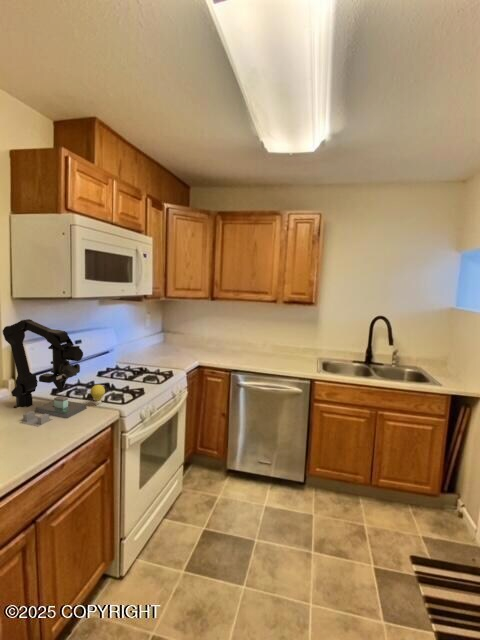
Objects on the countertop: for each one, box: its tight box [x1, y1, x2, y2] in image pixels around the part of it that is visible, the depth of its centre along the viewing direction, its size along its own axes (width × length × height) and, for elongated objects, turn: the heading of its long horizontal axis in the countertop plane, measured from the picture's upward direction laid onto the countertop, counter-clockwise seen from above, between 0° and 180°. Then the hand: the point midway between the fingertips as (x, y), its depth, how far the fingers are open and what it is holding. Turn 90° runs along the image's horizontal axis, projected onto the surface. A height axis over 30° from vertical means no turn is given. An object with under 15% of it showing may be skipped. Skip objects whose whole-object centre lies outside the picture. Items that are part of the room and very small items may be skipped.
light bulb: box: [90, 384, 106, 406], centre depth 175 cm, size 7×7×10 cm
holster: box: [19, 410, 54, 428], centre depth 152 cm, size 10×8×4 cm
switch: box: [34, 399, 88, 419], centre depth 165 cm, size 18×12×3 cm, turn 73°
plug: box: [53, 395, 69, 409], centre depth 164 cm, size 5×3×7 cm, turn 74°
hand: (60, 391), depth 163 cm, fingers closed
